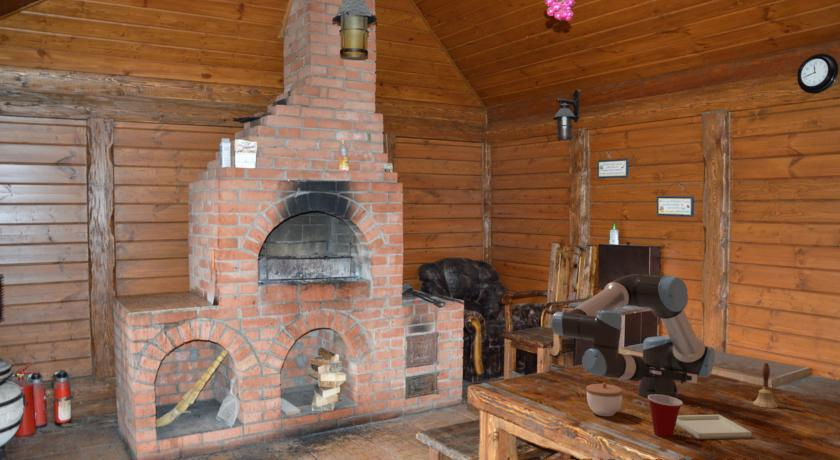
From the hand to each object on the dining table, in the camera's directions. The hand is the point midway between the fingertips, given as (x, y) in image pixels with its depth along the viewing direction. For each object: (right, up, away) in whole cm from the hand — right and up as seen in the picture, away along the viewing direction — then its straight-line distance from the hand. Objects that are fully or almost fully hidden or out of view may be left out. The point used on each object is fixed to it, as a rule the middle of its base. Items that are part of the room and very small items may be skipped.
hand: (679, 375), depth 203 cm
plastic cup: (-3, -20, +4) cm, 21 cm away
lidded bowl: (-17, -20, +26) cm, 36 cm away
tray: (+14, -20, +10) cm, 27 cm away
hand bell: (+48, -20, +38) cm, 65 cm away
